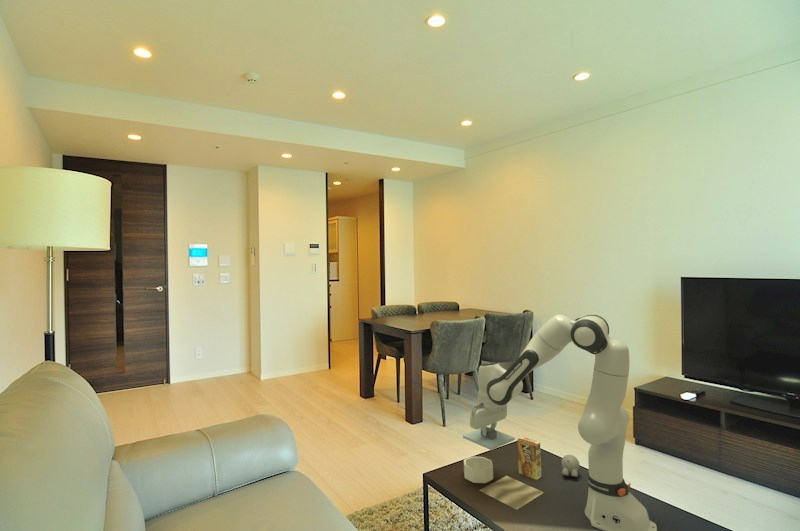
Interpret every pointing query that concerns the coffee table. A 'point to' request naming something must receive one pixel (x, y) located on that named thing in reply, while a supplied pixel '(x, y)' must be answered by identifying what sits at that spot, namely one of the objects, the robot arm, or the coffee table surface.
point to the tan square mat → (511, 492)
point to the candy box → (529, 457)
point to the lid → (489, 438)
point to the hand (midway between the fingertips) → (488, 433)
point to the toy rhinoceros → (570, 465)
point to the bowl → (478, 469)
